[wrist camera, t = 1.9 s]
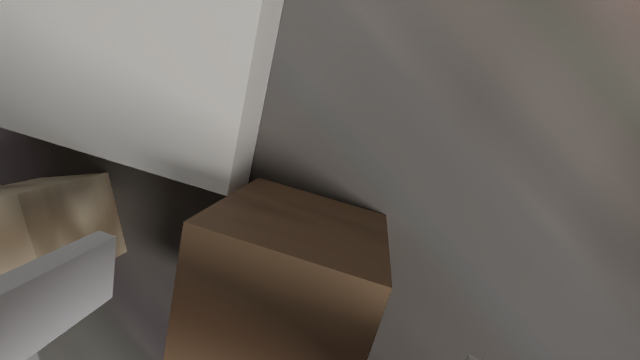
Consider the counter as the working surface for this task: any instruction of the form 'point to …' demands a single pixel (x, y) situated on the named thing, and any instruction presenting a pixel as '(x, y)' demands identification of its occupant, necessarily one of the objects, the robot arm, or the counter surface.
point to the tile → (142, 81)
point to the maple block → (54, 216)
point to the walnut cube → (279, 278)
